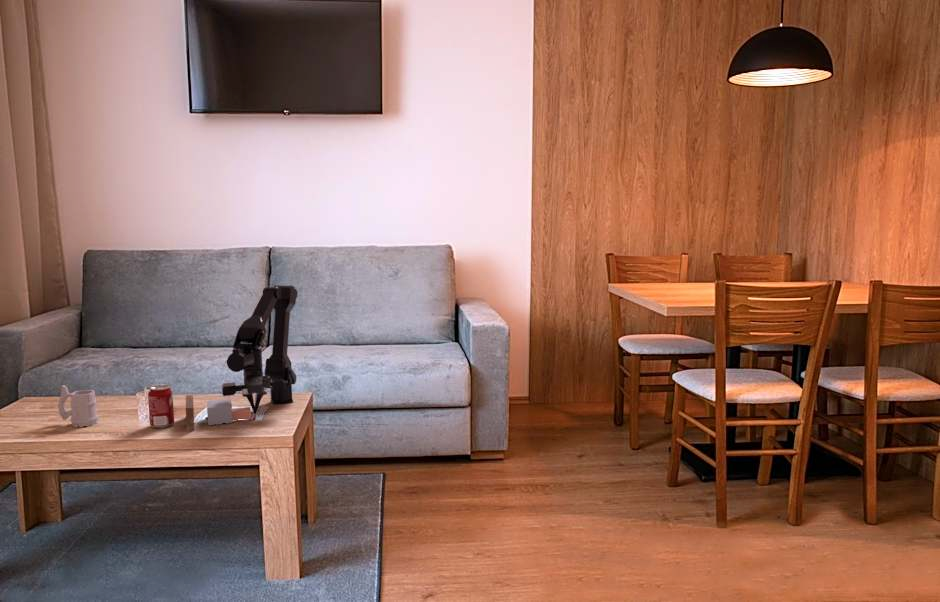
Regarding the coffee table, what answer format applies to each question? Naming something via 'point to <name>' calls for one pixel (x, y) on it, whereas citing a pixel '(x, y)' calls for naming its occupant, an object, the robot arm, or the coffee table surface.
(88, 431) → the coffee table surface
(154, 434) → the coffee table surface
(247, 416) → the orange white rectangular bar
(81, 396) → the mug
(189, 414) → the wall
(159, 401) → the soda can
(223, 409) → the block
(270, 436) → the coffee table surface
